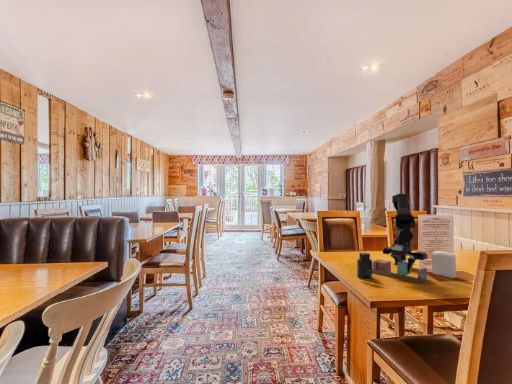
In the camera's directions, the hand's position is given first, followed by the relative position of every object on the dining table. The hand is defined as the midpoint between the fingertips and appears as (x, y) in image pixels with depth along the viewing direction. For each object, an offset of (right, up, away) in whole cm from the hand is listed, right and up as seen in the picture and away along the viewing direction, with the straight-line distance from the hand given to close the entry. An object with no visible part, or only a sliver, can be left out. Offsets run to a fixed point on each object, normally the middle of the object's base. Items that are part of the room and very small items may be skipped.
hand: (404, 270), depth 137 cm
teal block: (0, -1, 0) cm, 1 cm away
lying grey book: (-4, -4, +21) cm, 22 cm away
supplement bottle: (-19, -4, 0) cm, 20 cm away
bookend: (+5, -3, -6) cm, 9 cm away
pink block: (-6, -3, +8) cm, 10 cm away
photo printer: (+21, -4, +3) cm, 21 cm away
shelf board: (-1, -3, +1) cm, 4 cm away
